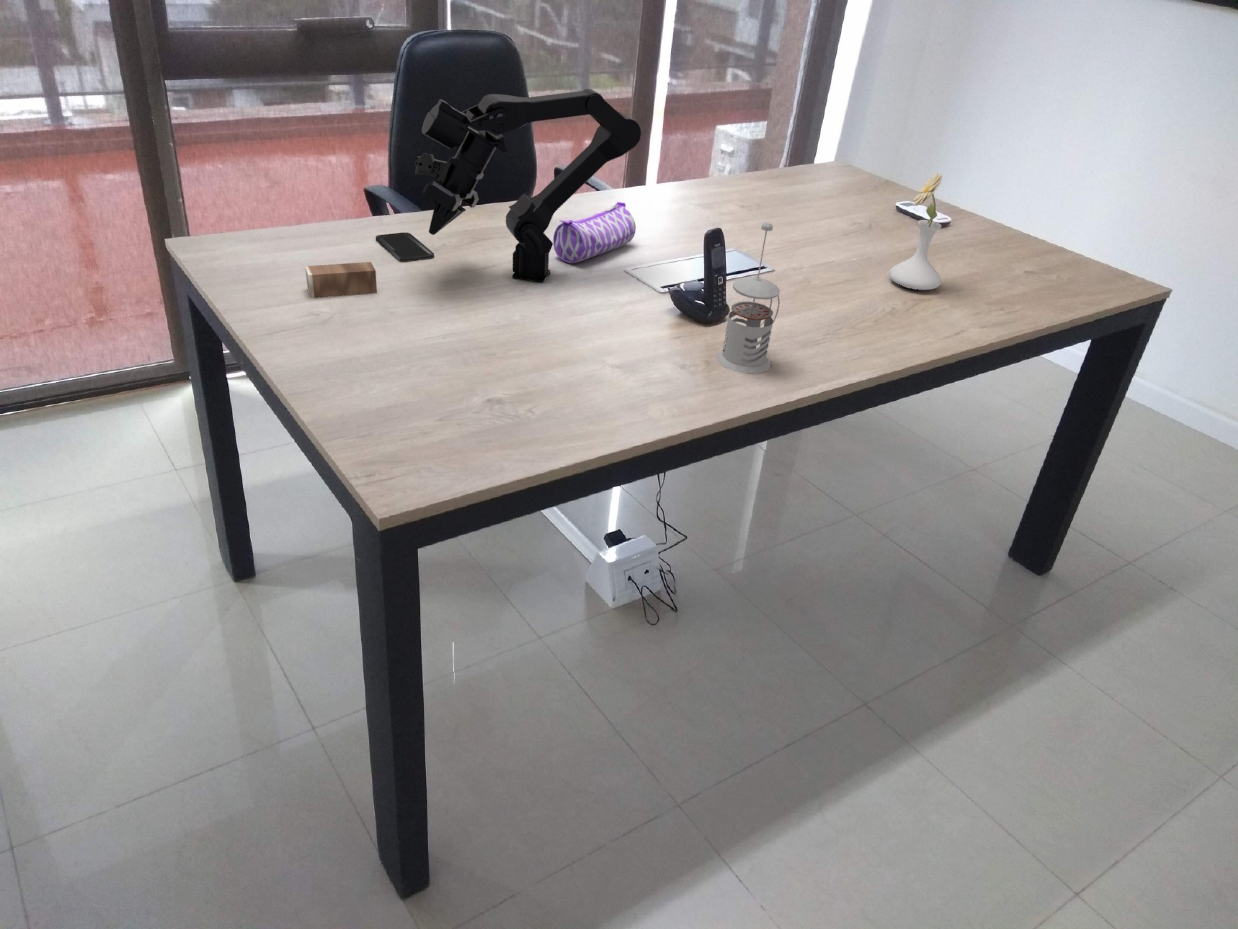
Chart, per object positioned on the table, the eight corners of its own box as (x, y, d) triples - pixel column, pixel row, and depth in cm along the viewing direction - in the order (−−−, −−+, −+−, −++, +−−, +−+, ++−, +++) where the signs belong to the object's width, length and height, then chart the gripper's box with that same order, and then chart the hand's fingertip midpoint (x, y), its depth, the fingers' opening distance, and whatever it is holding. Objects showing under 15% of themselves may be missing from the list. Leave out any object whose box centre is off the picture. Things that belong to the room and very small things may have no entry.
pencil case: (604, 236, 211) (607, 195, 206) (638, 246, 207) (642, 205, 202) (548, 260, 195) (550, 216, 190) (583, 271, 191) (586, 227, 186)
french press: (704, 357, 161) (725, 218, 148) (745, 341, 168) (769, 207, 155) (747, 378, 155) (773, 236, 142) (788, 361, 163) (816, 224, 149)
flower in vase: (895, 271, 208) (924, 159, 194) (944, 284, 203) (978, 171, 190) (877, 287, 198) (907, 171, 185) (929, 301, 194) (963, 183, 180)
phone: (408, 231, 200) (435, 254, 189) (408, 236, 200) (435, 259, 190) (373, 235, 196) (399, 259, 185) (373, 240, 196) (399, 264, 186)
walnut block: (370, 261, 173) (305, 266, 169) (375, 270, 170) (308, 275, 165) (372, 284, 176) (307, 288, 171) (376, 293, 172) (311, 298, 168)
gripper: (446, 138, 177) (409, 208, 182) (418, 134, 160) (378, 212, 164) (495, 170, 179) (457, 239, 183) (473, 170, 161) (431, 246, 165)
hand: (431, 233), depth 174 cm, fingers closed
